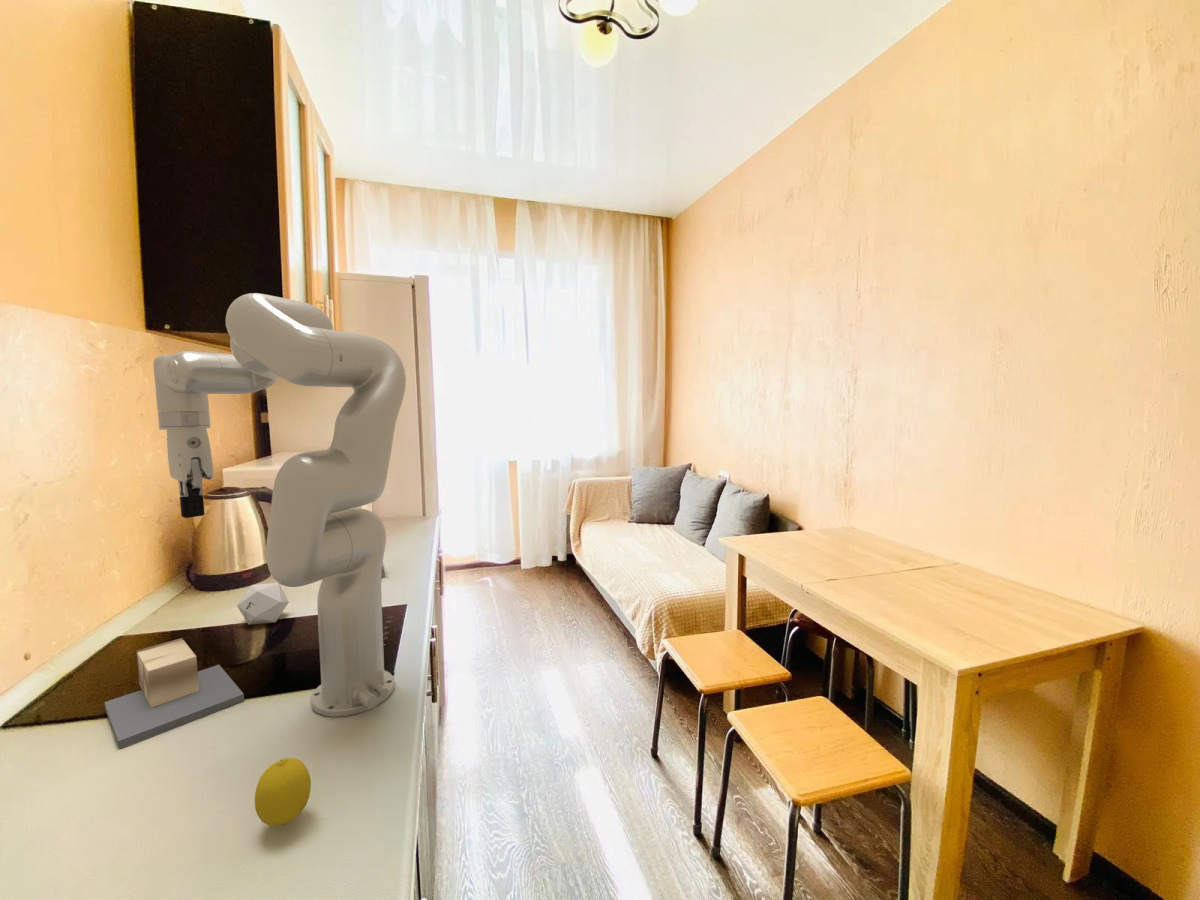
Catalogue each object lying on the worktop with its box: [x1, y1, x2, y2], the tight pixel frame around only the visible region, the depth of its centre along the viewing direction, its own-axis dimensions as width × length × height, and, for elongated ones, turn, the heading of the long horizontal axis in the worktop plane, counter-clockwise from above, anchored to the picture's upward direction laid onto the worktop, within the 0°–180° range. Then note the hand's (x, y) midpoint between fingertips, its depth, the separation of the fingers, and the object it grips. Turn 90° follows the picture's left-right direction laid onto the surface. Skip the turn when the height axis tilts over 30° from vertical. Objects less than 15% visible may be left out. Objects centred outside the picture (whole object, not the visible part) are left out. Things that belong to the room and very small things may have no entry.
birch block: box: [135, 637, 199, 708], centre depth 84 cm, size 6×6×10 cm
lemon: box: [254, 757, 312, 827], centre depth 58 cm, size 6×6×8 cm
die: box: [236, 582, 290, 626], centre depth 112 cm, size 8×9×10 cm
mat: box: [104, 664, 245, 750], centre depth 81 cm, size 14×15×1 cm
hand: (193, 516), depth 96 cm, fingers closed
